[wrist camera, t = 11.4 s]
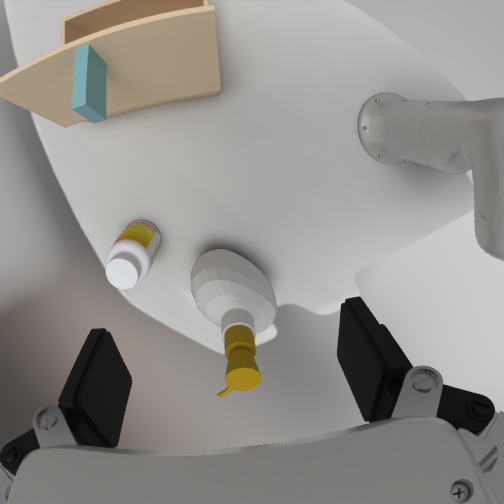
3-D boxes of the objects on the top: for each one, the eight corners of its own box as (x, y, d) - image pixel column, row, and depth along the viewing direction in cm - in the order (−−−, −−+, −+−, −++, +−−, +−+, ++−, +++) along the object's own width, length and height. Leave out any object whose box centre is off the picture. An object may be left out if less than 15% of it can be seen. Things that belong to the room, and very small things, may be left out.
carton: (208, 3, 34) (205, -23, 25) (219, 94, 41) (218, 86, 32) (88, 33, 33) (61, 18, 24) (95, 121, 40) (67, 123, 31)
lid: (214, 4, 16) (222, 69, 17) (220, 86, 32) (227, 132, 32) (-12, 85, 15) (-19, 147, 16) (65, 123, 31) (66, 167, 31)
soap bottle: (182, 268, 52) (159, 383, 28) (208, 227, 49) (199, 327, 26) (250, 304, 56) (270, 420, 33) (278, 267, 54) (319, 377, 30)
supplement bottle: (119, 224, 47) (91, 256, 36) (155, 215, 47) (135, 245, 36) (131, 259, 50) (109, 299, 39) (166, 251, 50) (151, 291, 39)
